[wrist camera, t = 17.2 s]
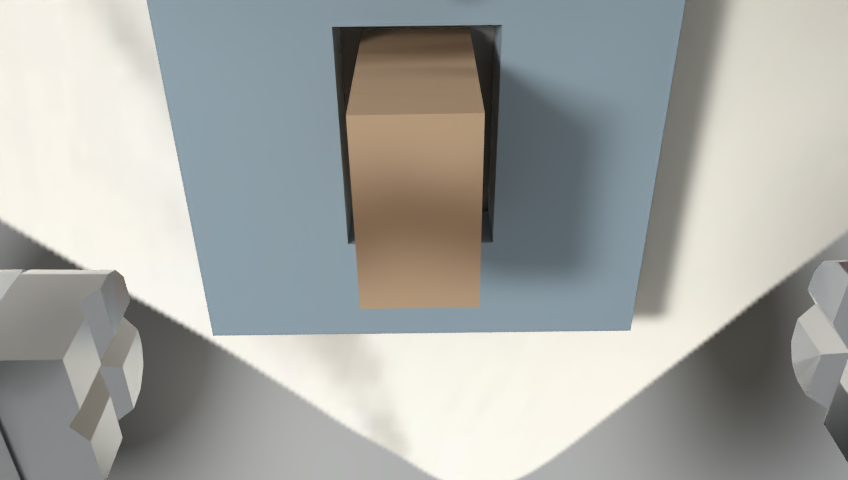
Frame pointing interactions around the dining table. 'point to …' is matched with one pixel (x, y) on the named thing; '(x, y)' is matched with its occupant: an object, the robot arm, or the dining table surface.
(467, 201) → the walnut block
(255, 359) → the dining table surface
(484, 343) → the dining table surface
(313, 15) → the keyed board
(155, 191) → the dining table surface
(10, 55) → the dining table surface
